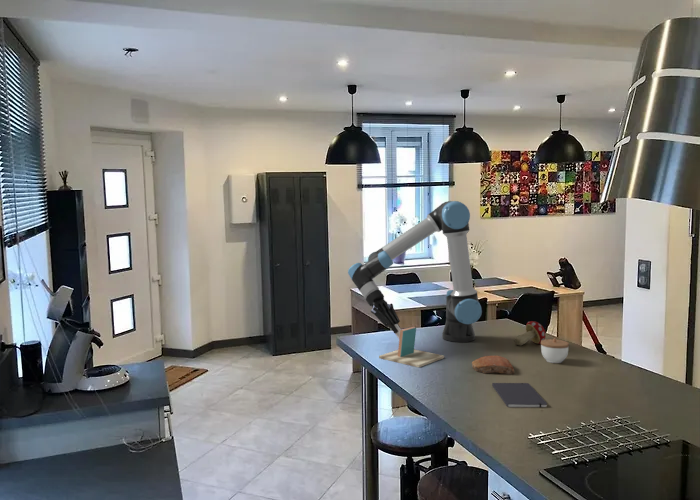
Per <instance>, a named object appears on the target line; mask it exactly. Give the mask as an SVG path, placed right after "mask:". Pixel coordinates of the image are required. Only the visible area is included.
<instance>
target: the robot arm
mask: <svg viewBox="0 0 700 500" xmlns="http://www.w3.org/2000/svg"><path fill="white" fill-rule="evenodd" d="M470 219H471V213H470V210H469V207H467V205H466V204H464V203H463V202H461V201H458V200H448V201H444V202H443V203H441V204H440V205H438V206H437V207H436V208H435V209H433V210H432V211H431V212H429V213H428V214H427V215H426V218H424V219H423V220H421V221H420V222H418V223H416V224H415V225H414V226H412V227H411V228H409V229H408V230H406V231H404V232H403V233H402V234H400V235H399V236H397V237H396V238H394V239H392V240H391V241H389V242H388V243H386V244H385V245H384V246H382V247H381V248H379V249H378V250H376V251H373V252H371V253H370V254H369V255H368V258H367V262H365V263H364V264H362V263H361V262H356V263H353V264H352V265H351V266H350V267H349V268H348V270H347V274H348V276H349V277H350V280H351V281H352V282H353V284H354V285H355V286H356V288H357V289H358V291H359V292H360V293H361V295H362V297H363V298H364V299H365V301H366V302H367V304H368V306H369V307H371V308H372V309H371V310H370V313H371V314H373V315H374V316H375V317H376V318H377V319H378V321H380V323H381V324H382V325H383V326H384V327H385V328H388V329H389V330H390V329H391V330H392V332H393V333H394V334H395V335H396V337H397V338H398V339H399V338H400V330H403V328H401V327H400V325H399V323H400V322H401V321H400V319H399V317H398V314H397V312H396V310H395V309H394V304H393V303H390V304H389V303H388V301H386V300H385V295H384V294H383V293H382V291H381V289H380V288H379V286H378V285H377V284H376V282H375V281H374V280H373V279H375V278H376V277H377V276H379V275H380V274H381V273H383V272H384V271H386V270H388V269H389V268H390V267H392V266H393V265H394V261H393V260H394V259H396V258H398V257H399V256H401V255H402V254H404V253H405V252H407V251H409V250H410V249H411V248H413V247H414V246H416V245H418V244H419V243H420V242H422V241H424V240H425V239H427V238H428V237H430V236H431V235H433V234H434V233H436V232H437V233H439V232H441V231H442V234H443V235H444V236H445V238H446V241H447V248H448V249H447V250H448V257H449V258H448V259H449V265H450V272H451V281H452V289H450V290H449V289H448V290H447V291H446V296H445V298H446V299H445V300H446V302H445V303H446V304H445V305H446V306H445V308H446V311H445V312H446V313H445V317H446V318H445V324H444V328H443V330H442V333H441V335H442V337H441V338H442V340H445V341H448V342H455V343H467V342H468V343H469V342H473V341H475V339H476V334H475V330H474V327H473V324H474V323H476V322H478V321H479V319H480V318H481V317H482V313H483V310H482V305H481V303H480V302H479V296H478V291H477V290H476V289H475V288H474V285H473V277H472V269H471V261H470V253H469V246H468V245H469V243H468V237H467V236H468V234H469V233H468V232H469V231H470V224H469V222H470Z"/></svg>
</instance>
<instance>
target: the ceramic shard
mask: <svg viewBox="0 0 700 500" xmlns="http://www.w3.org/2000/svg"><path fill="white" fill-rule="evenodd" d="M471 365H472V369H473V370H474V371H476V372H478V373H482V374H492V373H498V374H506V375H514V374H515V369H514V367H513V365H512V363H511V361H510V360H509V359H507V358H506V357H503V356H501V355H484V356H481V357H479V358H476V359H474V360H473V361H472V362H471Z"/></svg>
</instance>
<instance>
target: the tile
mask: <svg viewBox="0 0 700 500" xmlns="http://www.w3.org/2000/svg"><path fill="white" fill-rule="evenodd" d="M416 335H417V327H415V326H409V327H408V328H407V327H406V328H404V329H403V328H402V330H400V338H398V340H399V341H398V349H397V350H398V356H399V357H402V356H405V355H408V354H411V353H414V349H415V345H416Z"/></svg>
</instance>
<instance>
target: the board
mask: <svg viewBox="0 0 700 500" xmlns="http://www.w3.org/2000/svg"><path fill="white" fill-rule="evenodd" d="M444 358H445V355H443V354H438V353H434V352H433V353H432V352H429V351H426V350H425V351H424V350H418V349H415V348H414V353H411V354H408V355H405V356H402V357H399V356H398V349H396V350H394V351H390V352H385V353H383V354H381V355H378V359H380V360H385V361H389V362H393V363H398V364H401V365H402V364H403V365H405V366H406V365H408V366H411V367H415V368H421V367H423V366H427V365H429V364H432V363H434V362H437V361H440V360H443V359H444Z"/></svg>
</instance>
